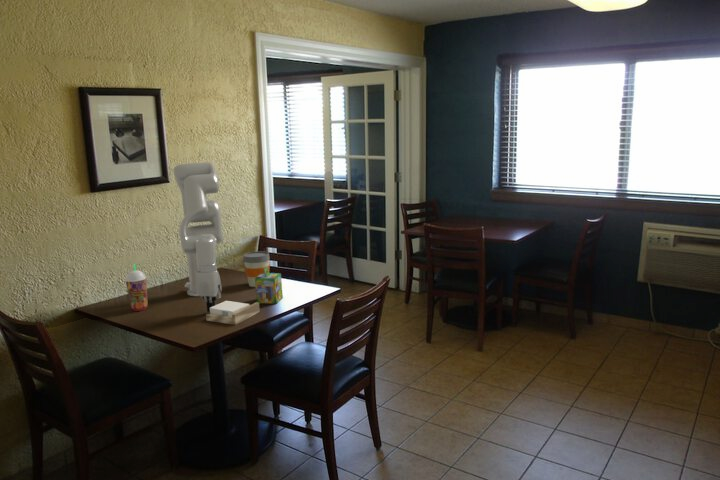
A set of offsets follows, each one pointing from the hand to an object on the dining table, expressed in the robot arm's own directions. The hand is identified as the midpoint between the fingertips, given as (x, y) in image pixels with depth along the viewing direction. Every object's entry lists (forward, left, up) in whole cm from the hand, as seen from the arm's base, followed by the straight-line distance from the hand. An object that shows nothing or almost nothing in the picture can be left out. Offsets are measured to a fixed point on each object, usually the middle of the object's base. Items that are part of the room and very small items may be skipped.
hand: (211, 310), depth 238 cm
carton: (+11, -1, -1) cm, 11 cm away
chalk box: (+14, +22, -1) cm, 26 cm away
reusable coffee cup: (-6, +42, -1) cm, 42 cm away
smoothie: (-34, -6, -1) cm, 34 cm away
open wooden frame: (+11, 0, -1) cm, 11 cm away
